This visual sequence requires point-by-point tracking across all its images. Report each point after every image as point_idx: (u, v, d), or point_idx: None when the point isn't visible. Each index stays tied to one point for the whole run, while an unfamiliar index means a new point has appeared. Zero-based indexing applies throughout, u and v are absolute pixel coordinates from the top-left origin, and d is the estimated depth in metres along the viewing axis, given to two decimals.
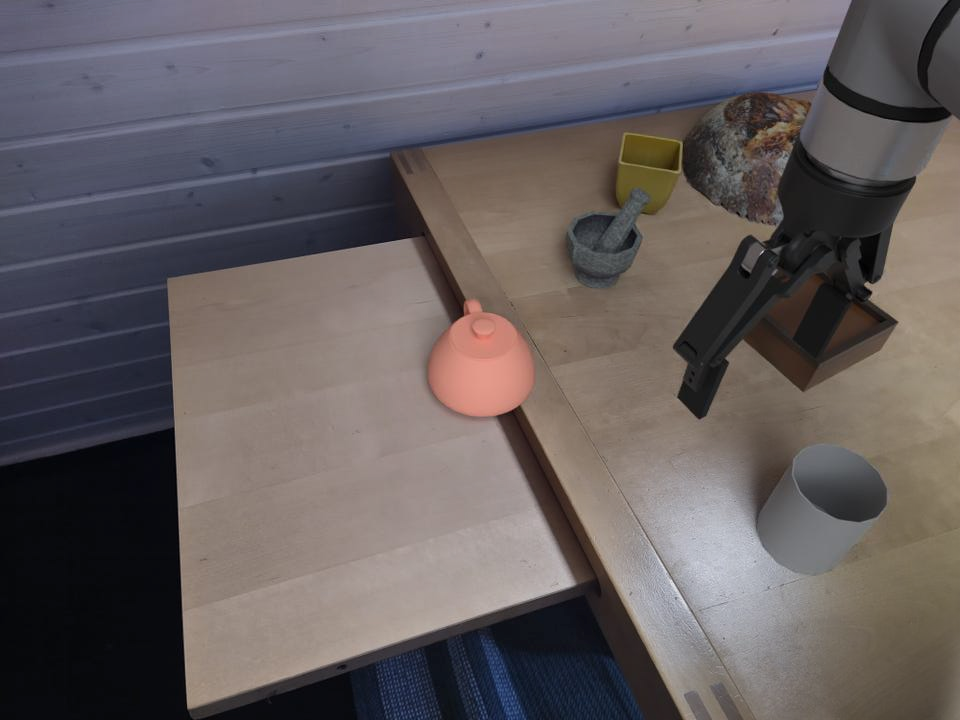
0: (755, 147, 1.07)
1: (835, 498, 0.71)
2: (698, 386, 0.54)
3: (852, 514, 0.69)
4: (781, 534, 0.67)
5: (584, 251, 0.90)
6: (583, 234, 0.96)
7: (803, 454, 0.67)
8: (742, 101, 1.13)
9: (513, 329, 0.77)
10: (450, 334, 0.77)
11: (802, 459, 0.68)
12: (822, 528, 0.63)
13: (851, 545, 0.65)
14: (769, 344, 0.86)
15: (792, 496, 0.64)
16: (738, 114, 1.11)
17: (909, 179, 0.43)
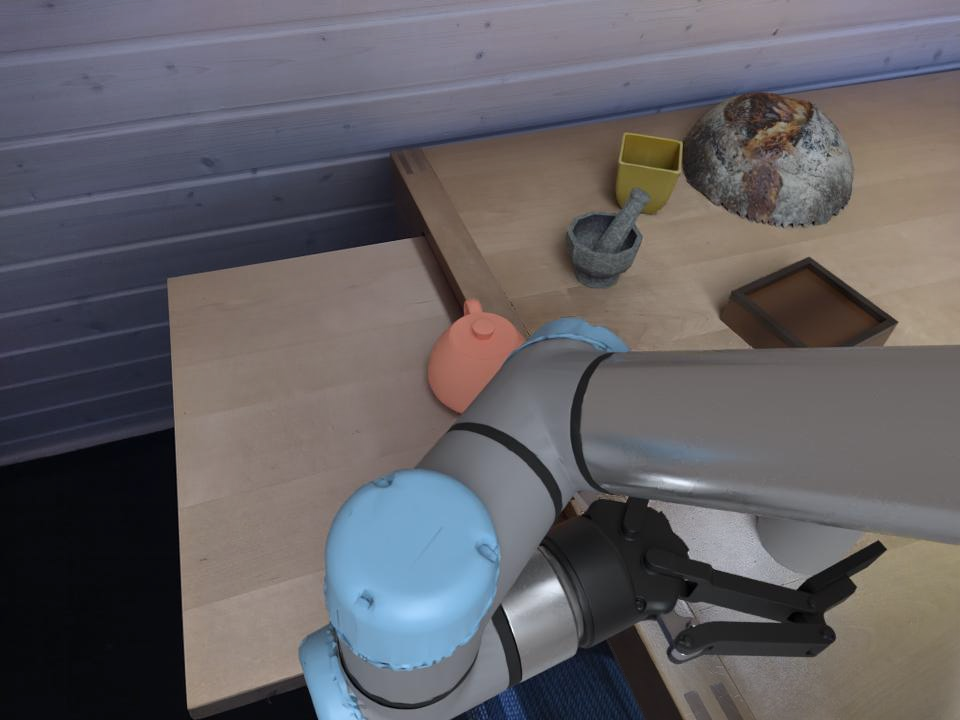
0: (755, 147, 1.07)
1: None
2: (849, 590, 0.45)
3: None
4: (781, 534, 0.67)
5: (584, 251, 0.90)
6: (583, 234, 0.96)
7: None
8: (742, 101, 1.13)
9: (513, 329, 0.77)
10: (450, 334, 0.77)
11: None
12: (822, 528, 0.63)
13: (851, 545, 0.65)
14: (769, 344, 0.86)
15: None
16: (738, 114, 1.11)
17: (555, 554, 0.43)
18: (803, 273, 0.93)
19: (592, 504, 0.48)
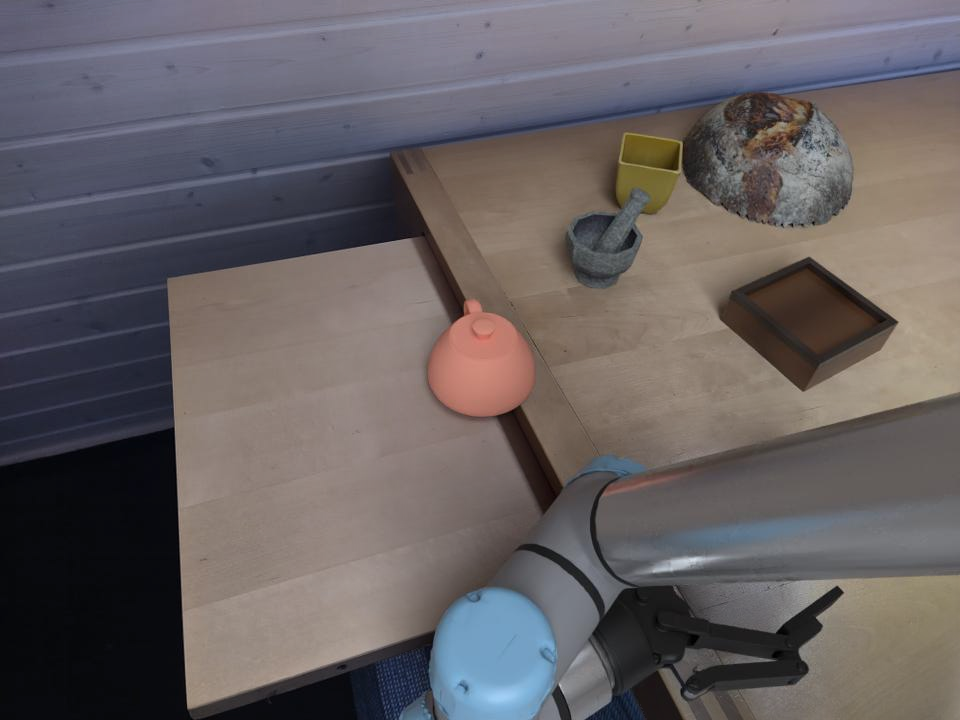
0: (755, 147, 1.07)
1: None
2: (816, 628, 0.58)
3: None
4: None
5: (584, 251, 0.90)
6: (583, 234, 0.96)
7: None
8: (742, 101, 1.13)
9: (513, 329, 0.77)
10: (450, 334, 0.77)
11: None
12: None
13: None
14: (769, 344, 0.86)
15: None
16: (738, 114, 1.11)
17: None
18: (803, 273, 0.93)
19: None
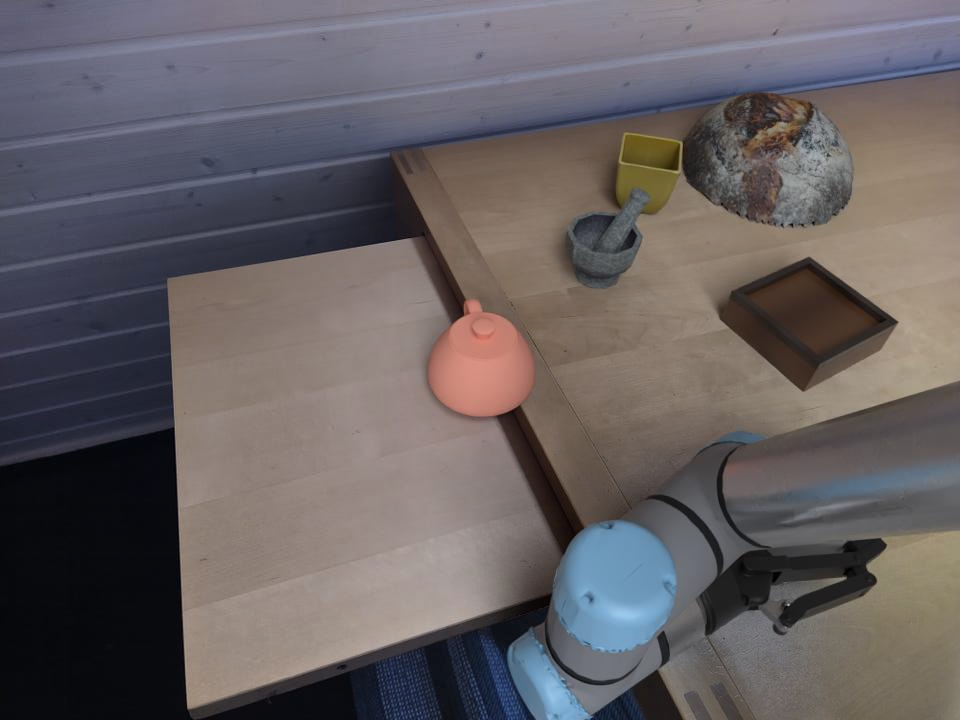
0: (755, 147, 1.07)
1: None
2: (881, 547, 0.63)
3: None
4: None
5: (584, 251, 0.90)
6: (583, 234, 0.96)
7: None
8: (742, 101, 1.13)
9: (513, 329, 0.77)
10: (450, 334, 0.77)
11: None
12: None
13: None
14: (769, 344, 0.86)
15: None
16: (738, 114, 1.11)
17: None
18: (803, 273, 0.93)
19: None
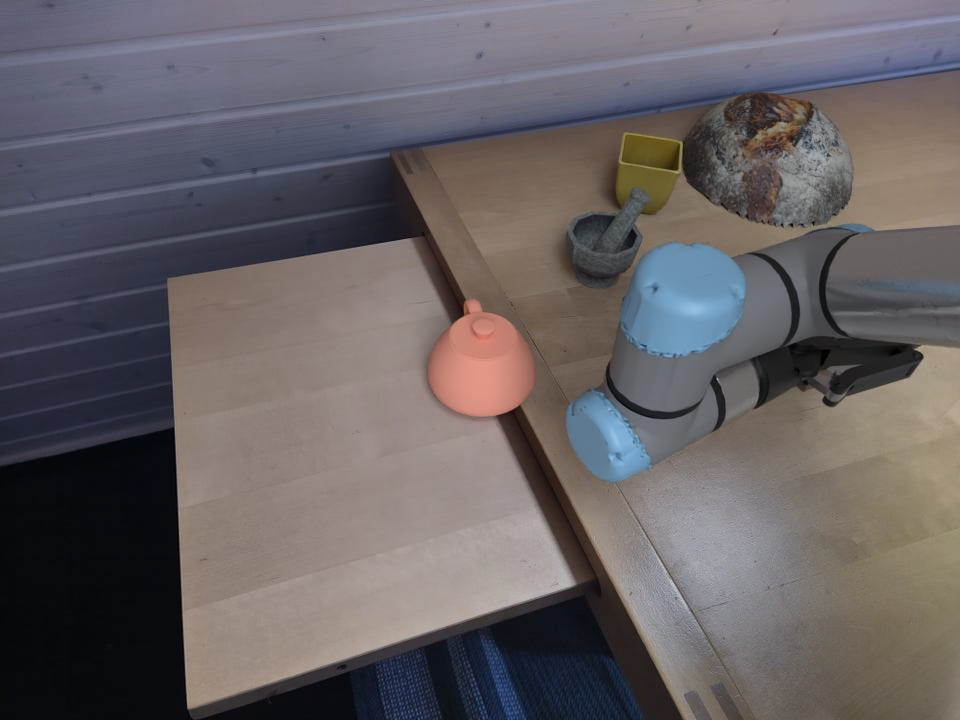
0: (755, 147, 1.07)
1: None
2: None
3: None
4: None
5: (584, 251, 0.90)
6: (583, 234, 0.96)
7: None
8: (742, 101, 1.13)
9: (513, 329, 0.77)
10: (450, 334, 0.77)
11: None
12: None
13: None
14: None
15: None
16: (738, 114, 1.11)
17: None
18: None
19: None
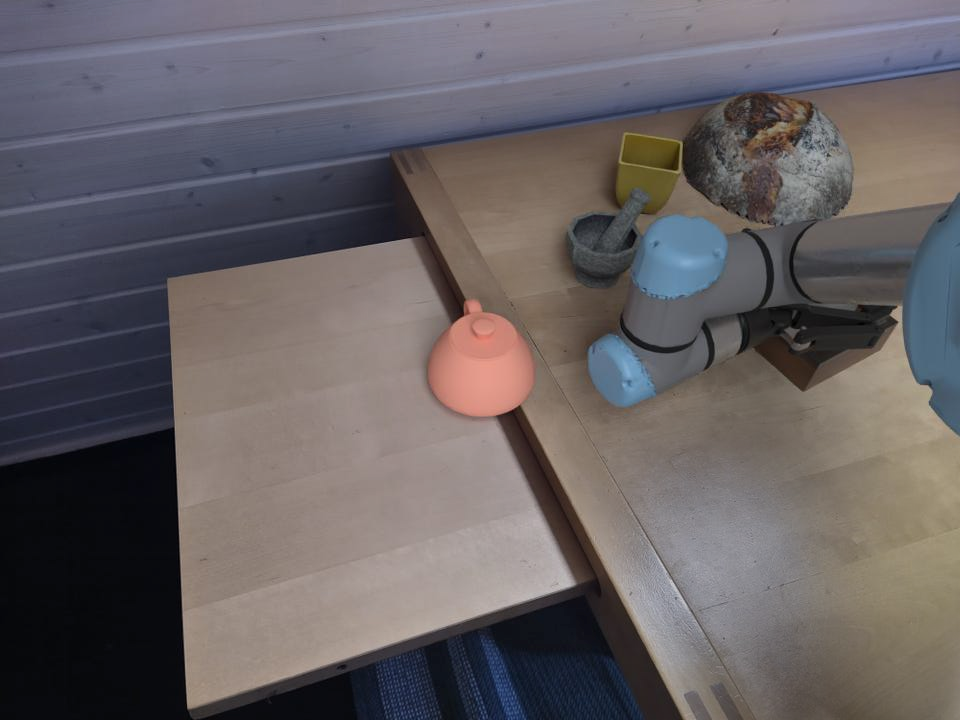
0: (755, 147, 1.07)
1: None
2: (888, 311, 0.77)
3: None
4: None
5: (584, 251, 0.90)
6: (583, 234, 0.96)
7: None
8: (742, 101, 1.13)
9: (513, 329, 0.77)
10: (450, 334, 0.77)
11: None
12: None
13: None
14: (769, 344, 0.86)
15: None
16: (738, 114, 1.11)
17: None
18: None
19: None
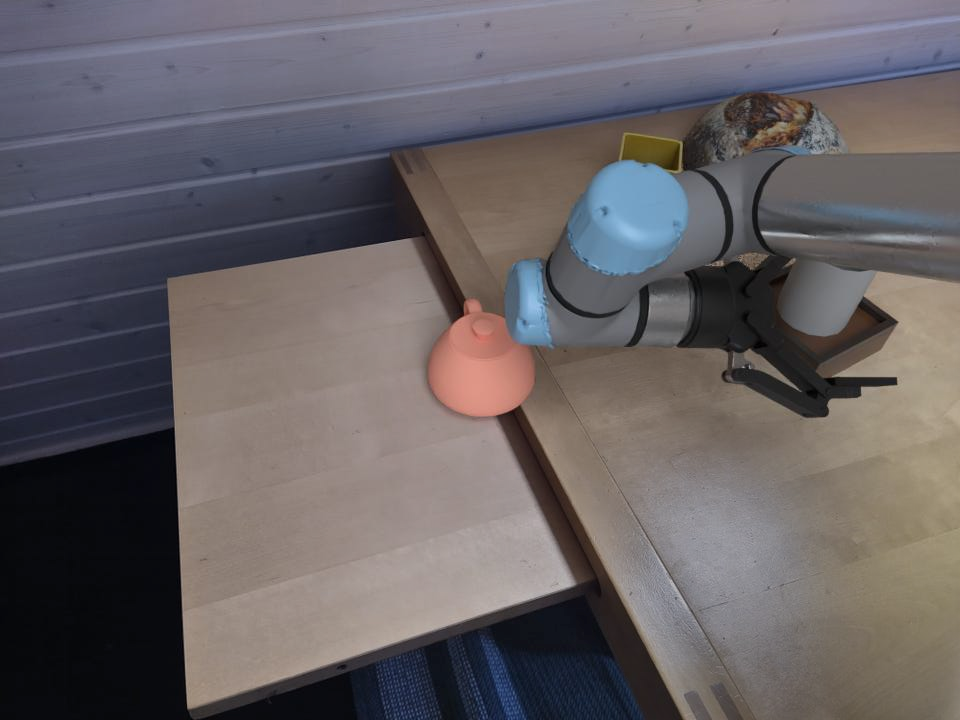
0: (755, 147, 1.07)
1: None
2: (855, 394, 0.66)
3: None
4: (797, 300, 0.84)
5: None
6: None
7: None
8: (742, 101, 1.13)
9: None
10: (450, 334, 0.77)
11: None
12: (830, 282, 0.79)
13: (853, 301, 0.81)
14: None
15: (806, 260, 0.81)
16: (738, 114, 1.11)
17: (695, 287, 0.61)
18: None
19: (732, 263, 0.65)
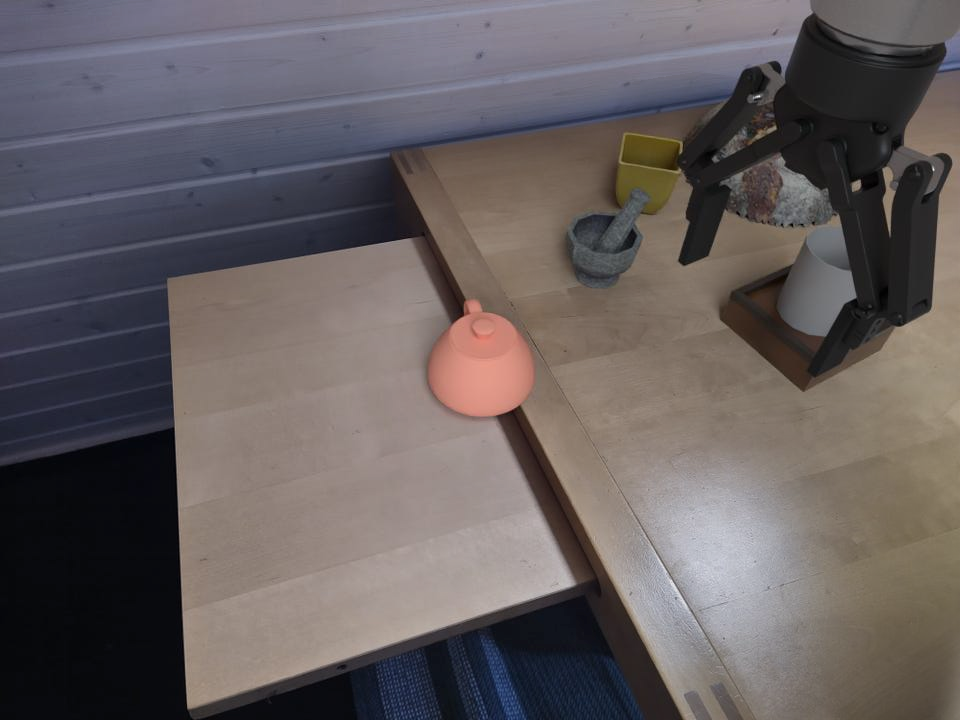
0: None
1: None
2: (688, 212, 0.56)
3: None
4: (797, 300, 0.84)
5: (584, 251, 0.90)
6: (583, 234, 0.96)
7: (815, 235, 0.83)
8: None
9: (513, 329, 0.77)
10: (450, 334, 0.77)
11: (814, 241, 0.84)
12: (830, 282, 0.79)
13: None
14: (769, 344, 0.86)
15: (806, 260, 0.81)
16: None
17: (852, 50, 0.37)
18: None
19: (884, 151, 0.40)
